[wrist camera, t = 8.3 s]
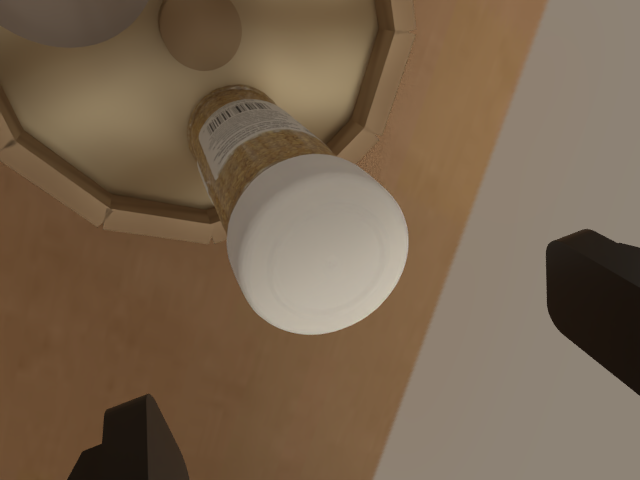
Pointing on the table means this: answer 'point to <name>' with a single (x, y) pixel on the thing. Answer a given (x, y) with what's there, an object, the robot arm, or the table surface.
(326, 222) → the seasoning bottle
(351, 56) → the condiment caddy
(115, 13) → the white jar
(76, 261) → the table surface
